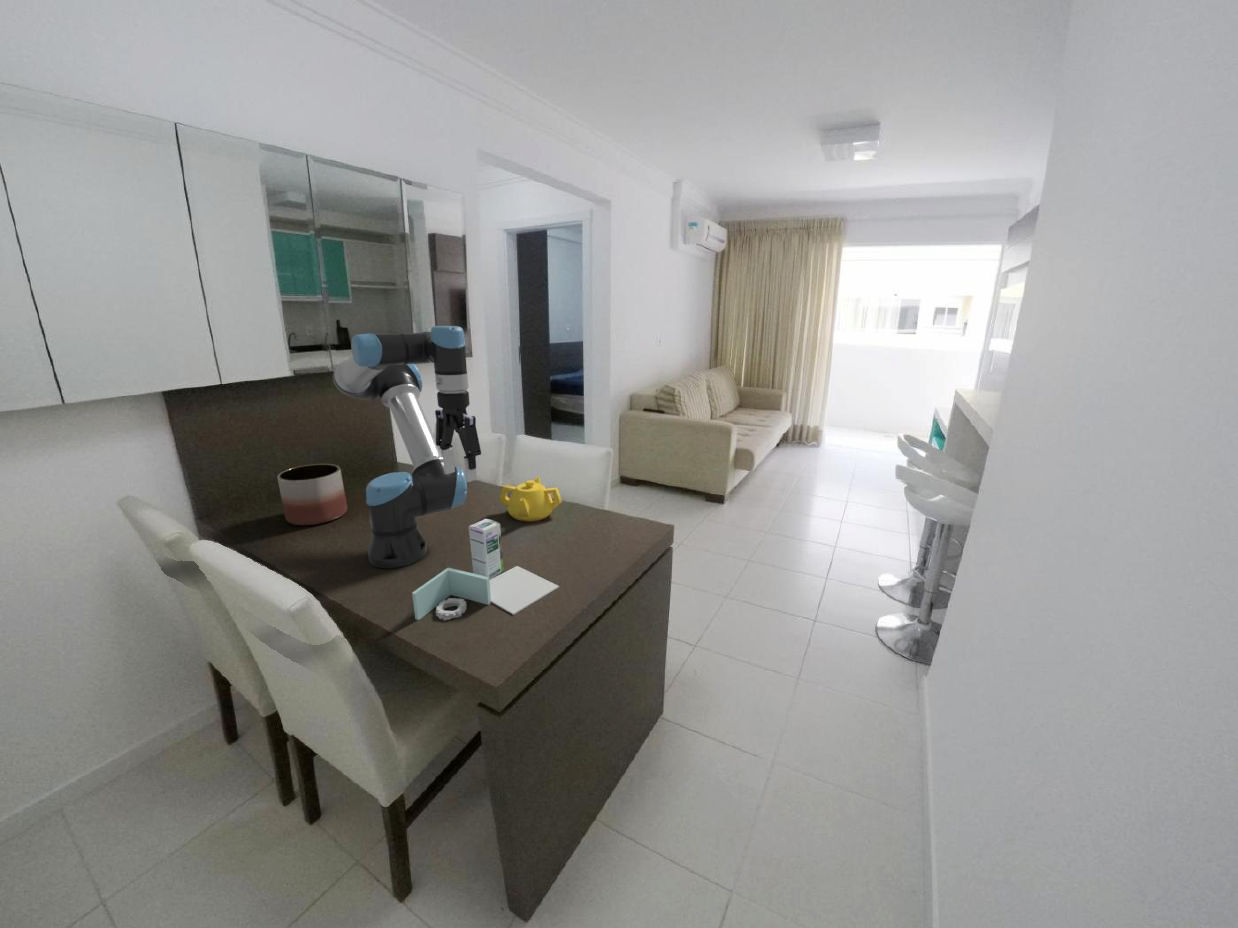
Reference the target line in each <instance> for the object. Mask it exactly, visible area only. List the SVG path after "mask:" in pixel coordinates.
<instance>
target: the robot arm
mask: <svg viewBox="0 0 1238 928" xmlns="http://www.w3.org/2000/svg"><path fill="white" fill-rule="evenodd" d="M464 332H465V331H464V330H463V327H460V326H457V325H434V326H432V327H431V329H430V331H422V332H408V333H407V332H406V333H405V332H402V333H400V332H399V333H398V332H397V333H371V332H367V333H363V334H362V333H361V334H355V335H353V336H352V338H351V342H350V343H351V344H350V347H351V348H350V349H351V353H352V354H351V356H350V357H349V358H348V359H346V360H343V361H341V362H339V364H337V366H336V367H335V368H334V369H333V373H332V380H333V381H332V382H333V384H334V386H335V387H336V389H337V390H338V391H339V392H341V393H342V394H344V395H346V396H347V397H350V398H352V399H356V400H357V399H358V400H372V399H373V400H374V399H380V400H381V403H382V405H383V406H384V407H387V408H389V409H390V412H391V415H392V416H393V419H394V421H395V425H397V429H398V431H399V434H400V436H401V439H402V440H403V441H402V442H403V443H404V445H405V448H406V451H407V453H408V456H409V458H410V461H411V463H412V465H413V469H412V471H411V474H410V473H409V472H407V471H398V472H396V471H395V472H389V473H386V474H382V475H380V476H378V477H375V478H374V479H372V480H371V481H370V482H369V483H367V485H366V488H365V496H366V499H365V503H366V505H367V509H368V511H367V512H368V516H369V517H368V518H369V523H370V530H371V538H370V542H369V547H368V551H367V557H368V561H369V564H370V565H371V566H373V567H376V568H380V569H394V568H397V569H398V568H402V567H406V566H409V565H412V564H414V563H416V562H418V561H420V560H421V559H423V557H425V556H426V554H427V552H428V547H427V543H426V540H425V538H424V536H423V534H422V532H421V530H420V528H419V526H418V517H422V516H423V517H424V516H427V515H431V514H435V513H439V512H443V511H446V510H451V509H454V508H457V507H460V506H462V505H463V504H464V503H465V501H466V498H467V497H468V496H467V495H468V485H467V483H470V482H473V481H476V480H478V479H477V478H478V477H477V456H481V455H482V450H481V446H480V445H481V444H480V441H479V436H478V435H479V434H478V430H477V425H476V424H477V423H476V421H477V420H476V416H475V415H471V416H470V415H468V412H467V408H468V407H469V406H470V392H469V391H468V389H469V379H468V378H469V377H468V368H467V354H466V340H465V333H464ZM419 364H433V367H434V374H435V375H434V376H435V386H436V390H437V391H438V392H437V393H436V397H437V406H438V407H439V408H441V409H436V410H435V411H434V412H435V413H434V414H435V419H436V422H435V436H434V434H433V431H432V429H431V426H430V425H429V422H428V420H427V417H426V415H425V413H424V410H423V409H422V406H421V404H420V401H419V398H420V396H421V392H422V391H423V380H422V378H421V373H420V371H419V369H418V367H417V365H419ZM454 433H457V435H458V437H459V440H460V443H461V446H462V449H463V452H464V454H465V456H463V463H464V469H463V468H461V467H460V466H456V465H455V457H454V448H453V447H454V446H453V444H452V442H453V437H454Z"/></svg>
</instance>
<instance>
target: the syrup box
mask: <svg viewBox="0 0 1238 928" xmlns="http://www.w3.org/2000/svg"><path fill="white" fill-rule="evenodd" d="M468 534H469V542H470V543H469V544H470V550H471V552H470V553H471V563H472V564H471V565H472V573H473V574H477V575H481V576H486V577H489V580H490V579H492V578H494V577H496V576H498V575H500V574H502V573H504V572H505V571H504V557H503V542H502V535H501V534H502V532H501V523H499V522H498V521H496V520H493V519H488V518H484V519H483V520H480V521H477V522H475V523H473V524H470V525H469V526H468Z"/></svg>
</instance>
